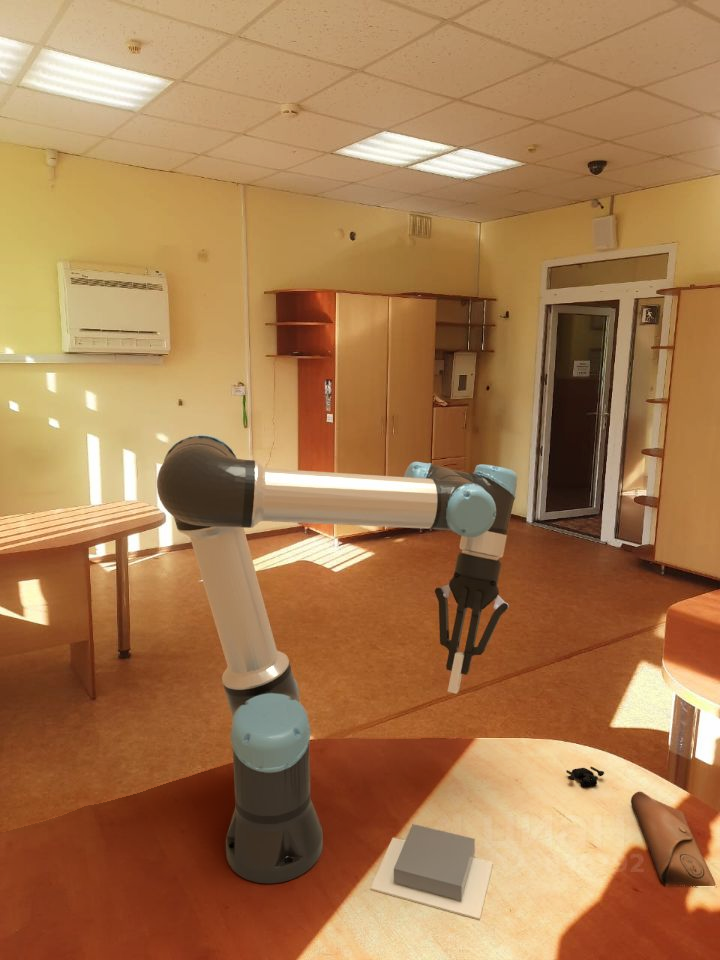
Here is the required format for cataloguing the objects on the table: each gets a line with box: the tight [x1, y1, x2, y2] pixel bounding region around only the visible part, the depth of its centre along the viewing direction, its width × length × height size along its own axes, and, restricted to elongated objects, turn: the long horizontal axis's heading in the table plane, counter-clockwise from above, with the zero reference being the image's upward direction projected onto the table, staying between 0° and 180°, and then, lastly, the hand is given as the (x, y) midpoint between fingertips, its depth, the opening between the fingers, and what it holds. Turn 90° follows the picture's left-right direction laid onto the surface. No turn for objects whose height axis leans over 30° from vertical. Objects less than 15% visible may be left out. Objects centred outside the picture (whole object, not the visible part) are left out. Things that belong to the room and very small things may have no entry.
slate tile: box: [394, 823, 476, 901], centre depth 103 cm, size 10×3×10 cm
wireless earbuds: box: [565, 766, 605, 789], centre depth 124 cm, size 7×2×5 cm
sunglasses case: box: [630, 791, 717, 888], centre depth 109 cm, size 18×7×7 cm
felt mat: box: [369, 837, 494, 921], centre depth 102 cm, size 16×11×1 cm
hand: (453, 691), depth 117 cm, fingers closed
